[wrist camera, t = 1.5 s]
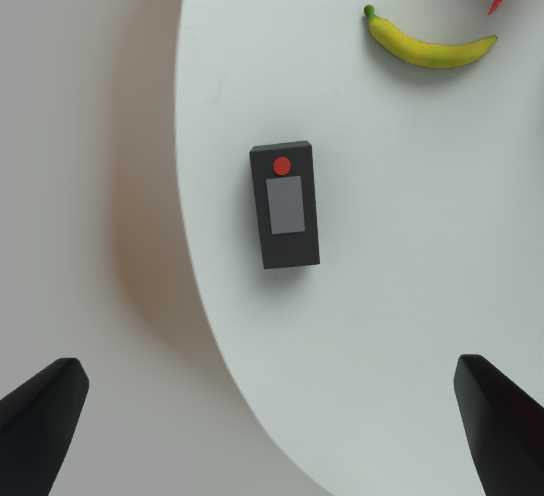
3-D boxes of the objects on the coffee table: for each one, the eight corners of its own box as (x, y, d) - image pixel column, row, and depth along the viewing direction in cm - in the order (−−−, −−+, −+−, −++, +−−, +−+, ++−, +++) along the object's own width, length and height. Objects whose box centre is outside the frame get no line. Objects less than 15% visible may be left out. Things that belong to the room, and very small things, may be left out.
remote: (315, 246, 24) (320, 265, 21) (265, 251, 24) (263, 270, 21) (307, 140, 22) (311, 145, 19) (252, 146, 22) (248, 151, 19)
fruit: (489, 71, 20) (491, 13, 20) (503, 62, 19) (505, 1, 19) (361, 71, 20) (361, 13, 20) (366, 62, 19) (367, 0, 19)
